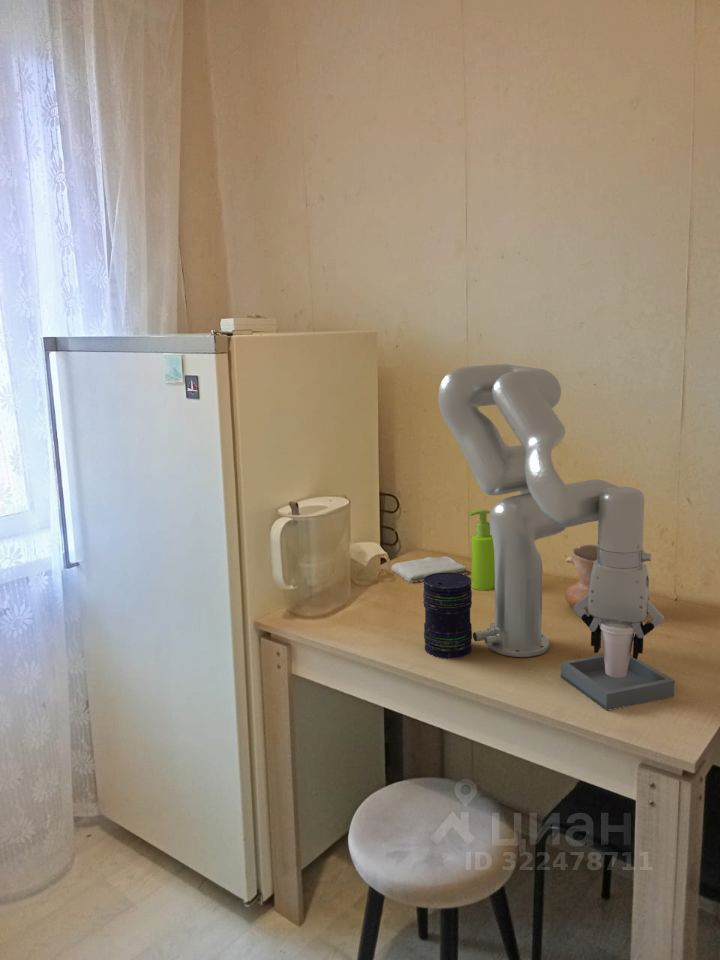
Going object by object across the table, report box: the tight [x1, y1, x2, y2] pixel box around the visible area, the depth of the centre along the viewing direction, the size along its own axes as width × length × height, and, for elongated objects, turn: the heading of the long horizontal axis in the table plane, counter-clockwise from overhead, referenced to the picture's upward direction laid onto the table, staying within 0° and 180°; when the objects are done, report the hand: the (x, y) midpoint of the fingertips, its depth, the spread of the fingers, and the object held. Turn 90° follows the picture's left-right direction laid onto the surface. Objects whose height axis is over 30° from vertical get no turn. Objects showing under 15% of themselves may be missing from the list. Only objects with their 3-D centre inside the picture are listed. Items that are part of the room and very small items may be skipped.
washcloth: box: [390, 556, 468, 584], centre depth 210 cm, size 12×18×3 cm, turn 113°
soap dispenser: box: [467, 509, 495, 591], centre depth 196 cm, size 6×7×20 cm
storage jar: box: [422, 572, 473, 660], centre depth 159 cm, size 10×10×15 cm
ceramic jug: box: [564, 544, 598, 613], centre depth 177 cm, size 18×14×14 cm
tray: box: [560, 653, 676, 711], centre depth 141 cm, size 14×14×3 cm
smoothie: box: [599, 619, 636, 678], centre depth 140 cm, size 6×6×14 cm
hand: (616, 652), depth 141 cm, fingers closed on smoothie, 6 cm apart
